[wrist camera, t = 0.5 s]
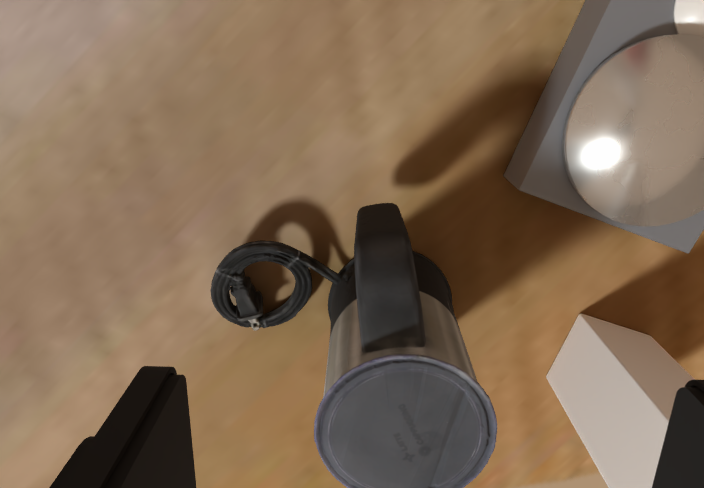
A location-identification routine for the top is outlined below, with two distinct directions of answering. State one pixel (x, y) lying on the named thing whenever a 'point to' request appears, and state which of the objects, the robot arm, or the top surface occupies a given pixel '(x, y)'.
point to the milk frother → (380, 359)
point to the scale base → (565, 81)
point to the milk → (617, 397)
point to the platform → (641, 133)
